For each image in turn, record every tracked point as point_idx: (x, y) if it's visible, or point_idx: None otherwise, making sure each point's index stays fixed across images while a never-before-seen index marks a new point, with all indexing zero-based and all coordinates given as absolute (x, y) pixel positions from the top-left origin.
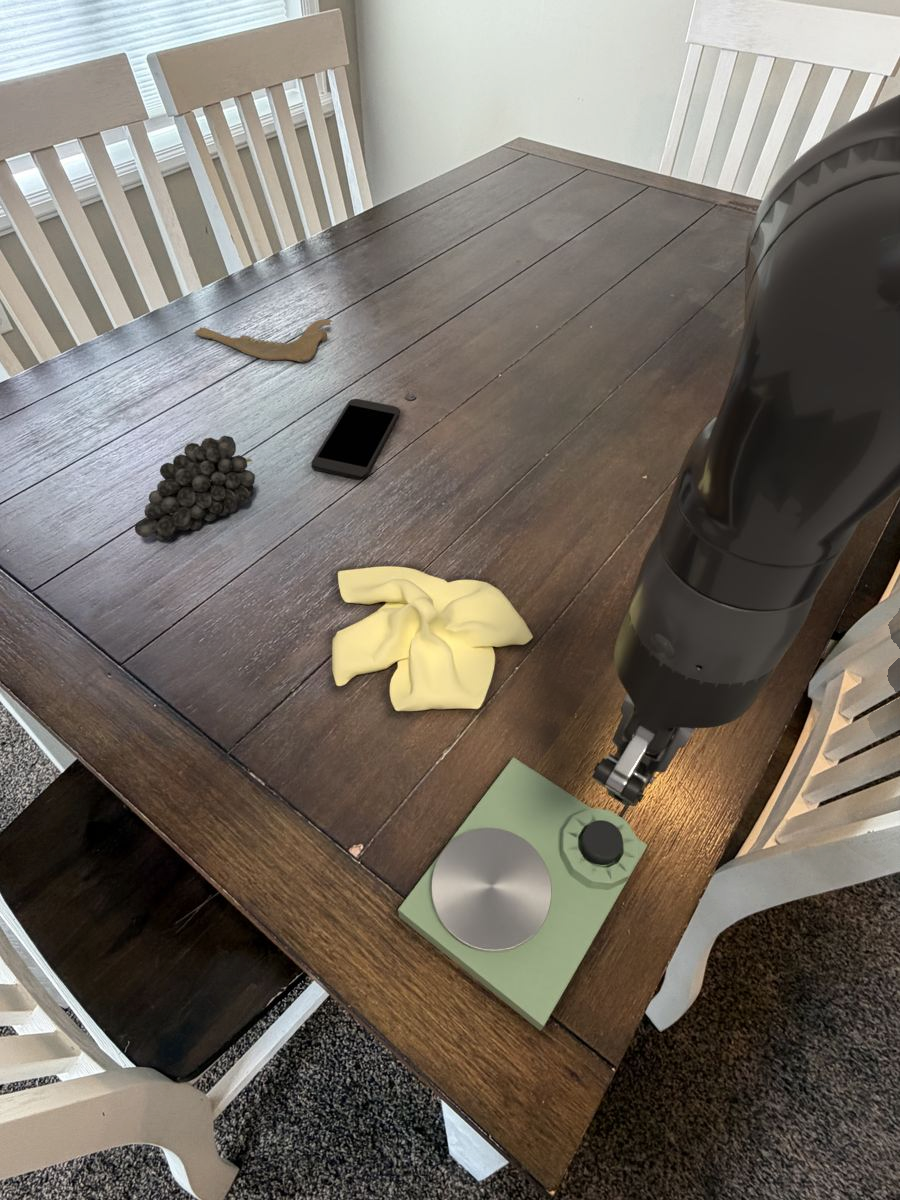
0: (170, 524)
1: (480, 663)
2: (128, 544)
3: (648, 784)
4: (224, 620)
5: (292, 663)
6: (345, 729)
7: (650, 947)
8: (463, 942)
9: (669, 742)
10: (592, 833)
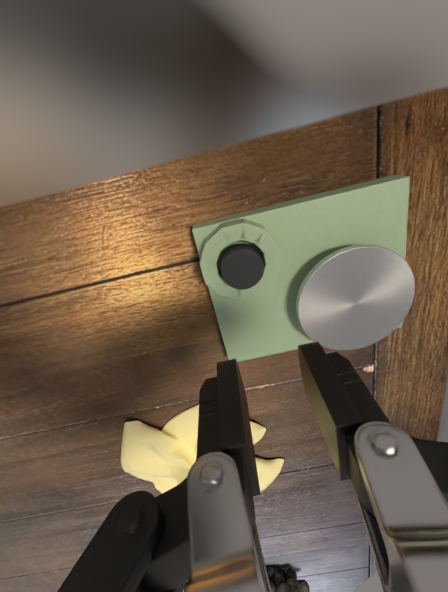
0: (292, 589)
1: (181, 425)
2: (308, 570)
3: (373, 422)
4: (303, 518)
5: (293, 482)
6: (303, 434)
7: (260, 152)
8: (414, 282)
9: (232, 451)
10: (247, 281)
